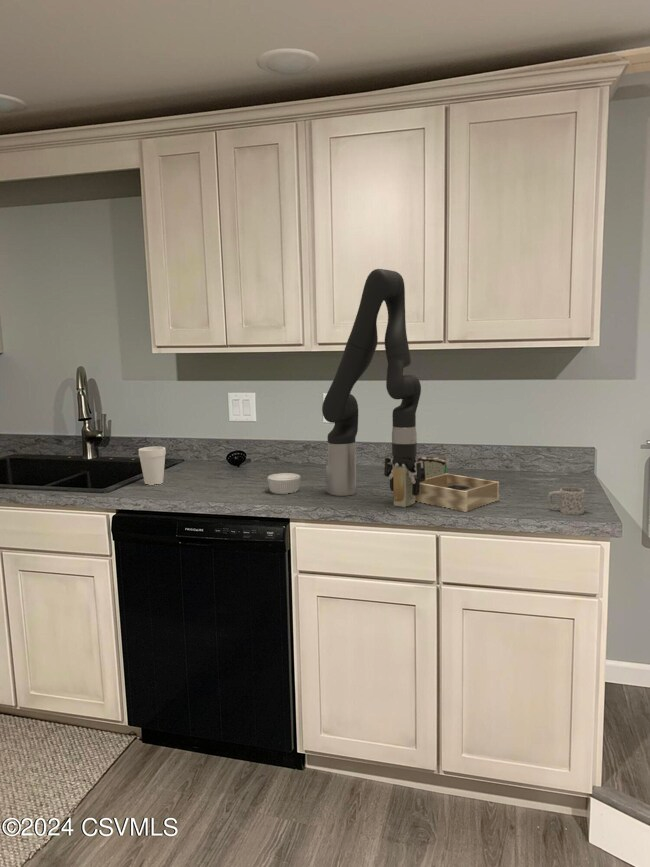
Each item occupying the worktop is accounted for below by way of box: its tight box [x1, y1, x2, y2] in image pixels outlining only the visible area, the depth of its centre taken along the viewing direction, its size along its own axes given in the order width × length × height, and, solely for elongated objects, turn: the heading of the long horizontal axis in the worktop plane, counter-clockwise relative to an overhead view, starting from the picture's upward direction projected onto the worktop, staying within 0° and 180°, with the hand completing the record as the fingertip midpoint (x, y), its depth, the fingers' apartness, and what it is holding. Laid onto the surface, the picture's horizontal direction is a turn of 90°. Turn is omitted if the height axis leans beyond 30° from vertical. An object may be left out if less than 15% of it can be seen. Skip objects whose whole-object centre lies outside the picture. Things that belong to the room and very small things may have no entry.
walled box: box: [415, 472, 500, 513], centre depth 211 cm, size 20×18×6 cm
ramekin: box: [267, 472, 301, 495], centre depth 229 cm, size 11×11×5 cm
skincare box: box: [392, 466, 416, 508], centre depth 207 cm, size 6×4×12 cm
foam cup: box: [138, 445, 167, 485], centre depth 244 cm, size 10×9×13 cm
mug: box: [547, 486, 586, 516], centre depth 196 cm, size 10×7×7 cm, turn 71°
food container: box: [415, 454, 450, 479], centre depth 233 cm, size 12×6×10 cm, turn 48°
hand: (404, 492), depth 207 cm, fingers open, 8 cm apart
